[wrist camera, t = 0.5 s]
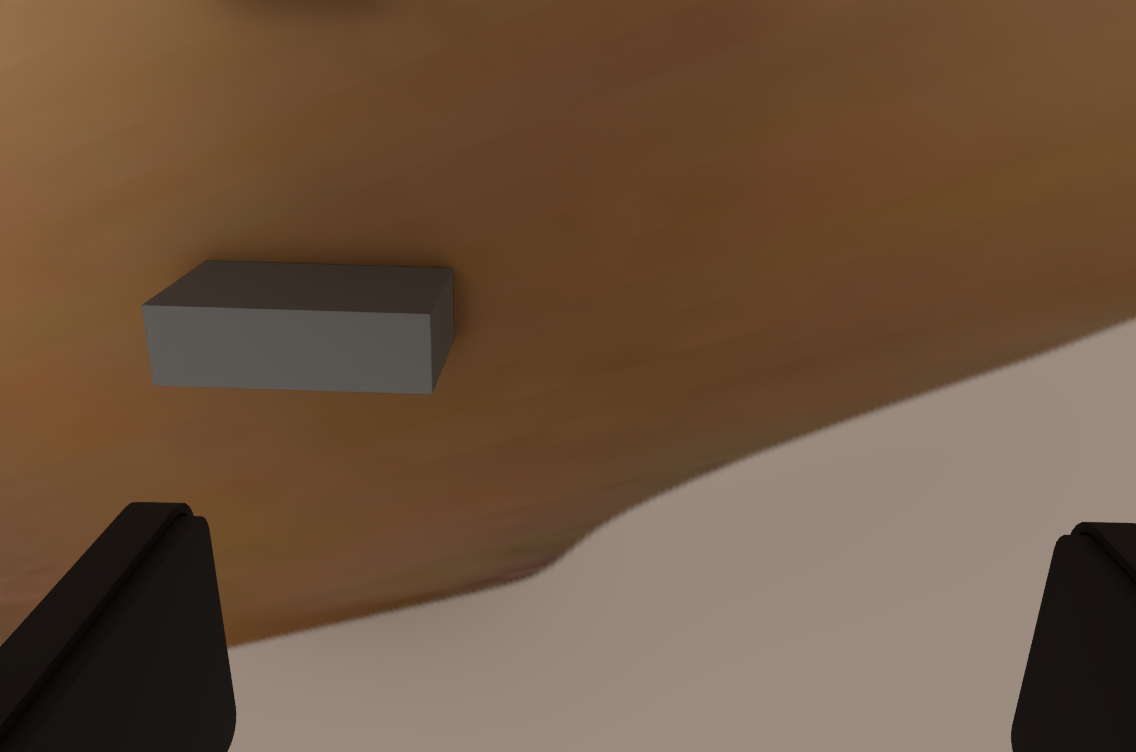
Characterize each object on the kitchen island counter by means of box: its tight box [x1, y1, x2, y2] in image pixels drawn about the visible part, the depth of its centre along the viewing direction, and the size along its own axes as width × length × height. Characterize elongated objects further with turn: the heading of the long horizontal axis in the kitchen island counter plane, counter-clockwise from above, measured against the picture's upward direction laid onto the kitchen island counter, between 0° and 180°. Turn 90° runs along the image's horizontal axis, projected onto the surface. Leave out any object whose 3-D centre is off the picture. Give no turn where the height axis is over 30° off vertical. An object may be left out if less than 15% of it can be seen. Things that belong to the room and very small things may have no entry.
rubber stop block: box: [142, 261, 454, 394], centre depth 36 cm, size 3×10×6 cm, turn 88°
